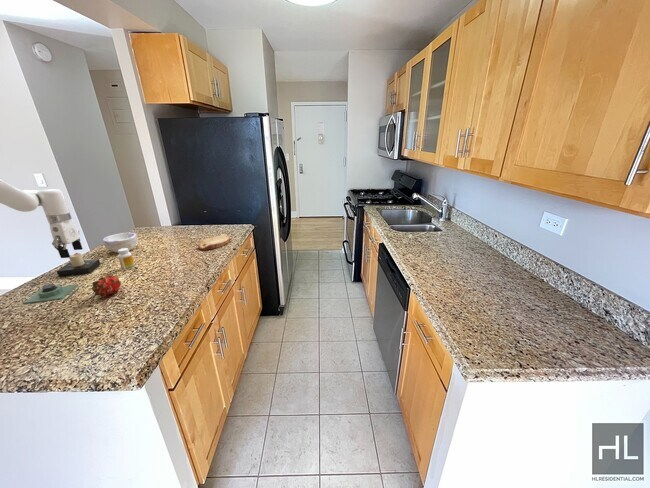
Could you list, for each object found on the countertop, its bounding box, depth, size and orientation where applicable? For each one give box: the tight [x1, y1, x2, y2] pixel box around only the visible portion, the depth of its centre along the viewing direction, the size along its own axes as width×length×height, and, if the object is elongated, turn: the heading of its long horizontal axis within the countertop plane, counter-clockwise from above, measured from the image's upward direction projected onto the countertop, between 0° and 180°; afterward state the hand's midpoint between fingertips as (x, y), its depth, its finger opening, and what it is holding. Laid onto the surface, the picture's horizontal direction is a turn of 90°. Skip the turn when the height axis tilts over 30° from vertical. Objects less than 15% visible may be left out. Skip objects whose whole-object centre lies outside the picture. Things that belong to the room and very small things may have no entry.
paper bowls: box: [102, 232, 139, 254], centre depth 146 cm, size 15×15×8 cm
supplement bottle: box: [117, 248, 136, 271], centre depth 125 cm, size 5×5×10 cm
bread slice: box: [197, 234, 232, 251], centre depth 155 cm, size 18×18×4 cm
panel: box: [56, 258, 102, 278], centre depth 123 cm, size 12×10×3 cm
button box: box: [22, 284, 80, 305], centre depth 102 cm, size 12×10×4 cm
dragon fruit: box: [91, 274, 122, 298], centre depth 104 cm, size 8×8×12 cm
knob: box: [68, 252, 85, 267], centre depth 122 cm, size 4×4×5 cm
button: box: [41, 283, 56, 292], centre depth 101 cm, size 4×4×2 cm
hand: (72, 253), depth 120 cm, fingers open, 9 cm apart
